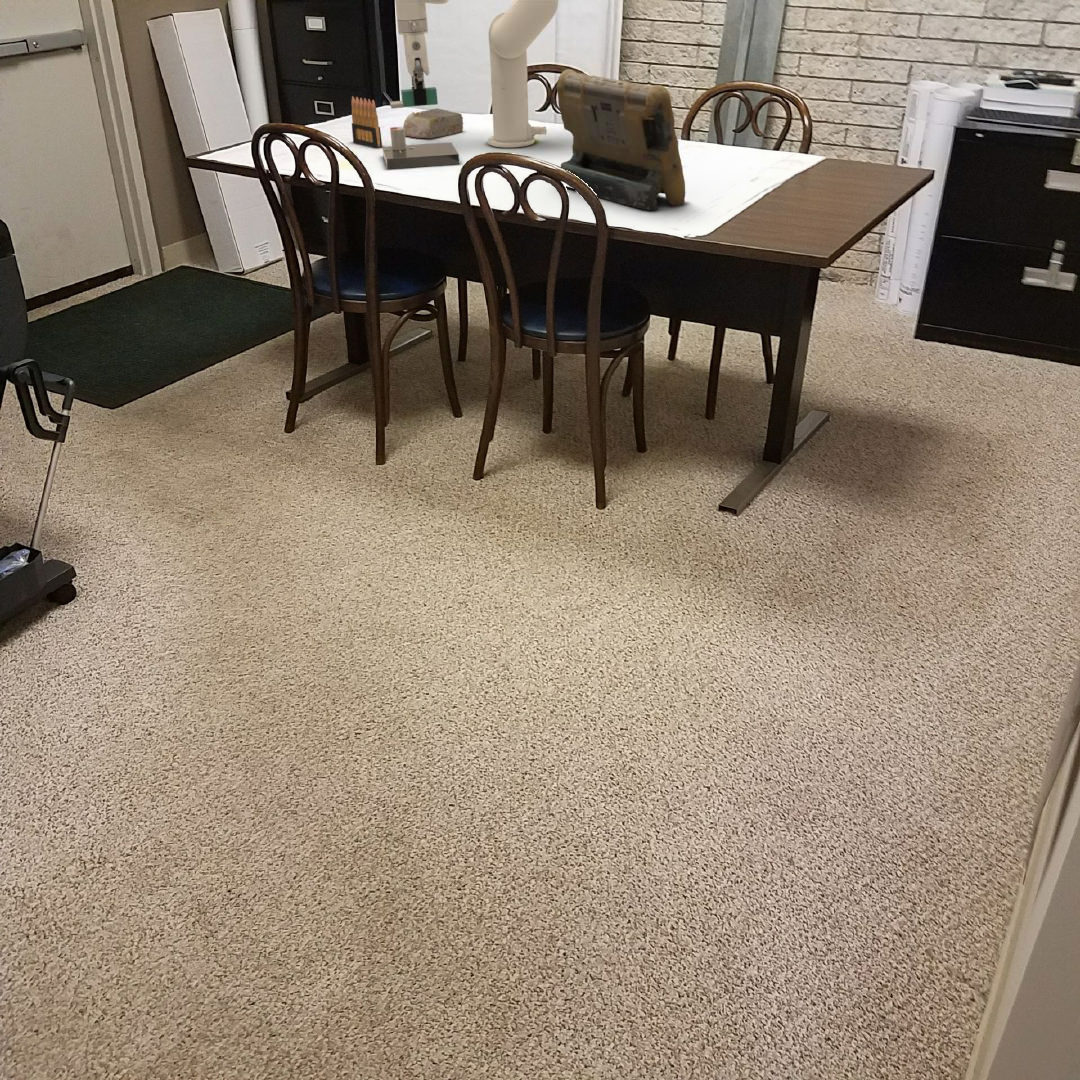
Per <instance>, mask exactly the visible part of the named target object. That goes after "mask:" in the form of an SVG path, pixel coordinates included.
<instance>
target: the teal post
mask: <svg viewBox="0 0 1080 1080" xmlns="http://www.w3.org/2000/svg"><path fill="white" fill-rule="evenodd" d="M425 88H426V98H427V104H426V105H418V106H416V105H415V103H414V93H413V89H412V88H406V89H400V92H401V93H400V94H401V100H396V101H389V106H390V108H391V109H403V108H411V107H423V106H435V105H439V104H438V103H439V102H438V91H437V88H436V86H432V87H431V86H430V87H425Z"/></svg>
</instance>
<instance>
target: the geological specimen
mask: <svg viewBox="0 0 1080 1080" xmlns="http://www.w3.org/2000/svg"><path fill="white" fill-rule="evenodd" d="M463 119H464V118H463V115H462V113H460V112H455V111H450V110H446V109H441V108H432V109H427V110H422V111H416V112H413V111H412V112H411V113H409V114H408V115H407V116H406V118H405V120H404V122H403V126H402V127H403V128H404V129H405V137H410V138H416V139H417V138H418V139H430V140H431V139H434V138H435V139H436V138H441V137H445V136H449V135H454V134H460V133H462V132H463V129H464V121H463Z"/></svg>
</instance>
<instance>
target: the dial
mask: <svg viewBox="0 0 1080 1080" xmlns="http://www.w3.org/2000/svg"><path fill="white" fill-rule="evenodd" d="M389 130H390V141H391V146H392V150H396V151H400V150H405V149H406V145H407V142H406V141H407V140H406V136H405V129H404V128H403V126H393V127H390V128H389Z"/></svg>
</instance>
